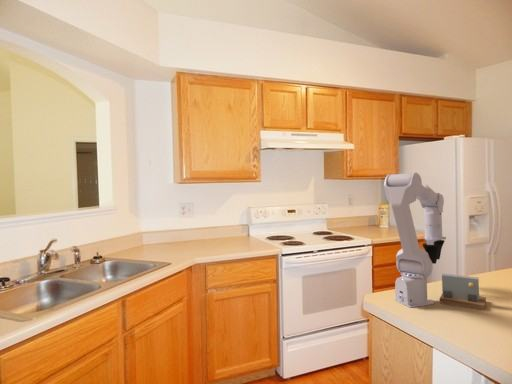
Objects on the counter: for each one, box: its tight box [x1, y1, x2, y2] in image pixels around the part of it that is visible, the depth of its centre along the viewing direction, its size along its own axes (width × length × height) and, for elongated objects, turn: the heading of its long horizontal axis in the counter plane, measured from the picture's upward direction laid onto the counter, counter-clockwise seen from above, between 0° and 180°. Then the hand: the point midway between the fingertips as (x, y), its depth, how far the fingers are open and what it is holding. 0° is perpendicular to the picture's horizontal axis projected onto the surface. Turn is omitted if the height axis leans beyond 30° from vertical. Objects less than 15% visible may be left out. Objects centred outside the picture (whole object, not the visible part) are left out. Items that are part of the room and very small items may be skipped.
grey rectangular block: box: [441, 273, 480, 301], centre depth 104 cm, size 3×10×7 cm, turn 52°
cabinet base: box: [439, 292, 487, 311], centre depth 104 cm, size 9×12×2 cm
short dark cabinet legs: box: [442, 291, 477, 302], centre depth 104 cm, size 5×9×2 cm, turn 52°
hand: (434, 261), depth 118 cm, fingers open, 7 cm apart
